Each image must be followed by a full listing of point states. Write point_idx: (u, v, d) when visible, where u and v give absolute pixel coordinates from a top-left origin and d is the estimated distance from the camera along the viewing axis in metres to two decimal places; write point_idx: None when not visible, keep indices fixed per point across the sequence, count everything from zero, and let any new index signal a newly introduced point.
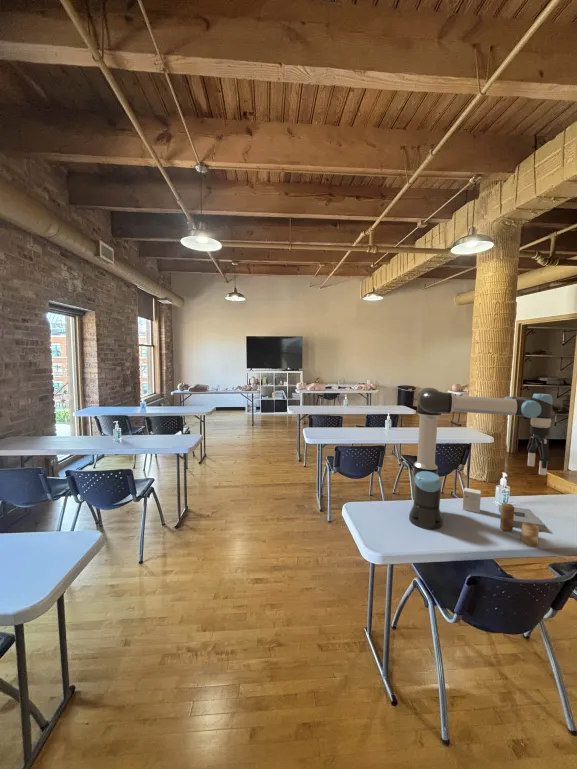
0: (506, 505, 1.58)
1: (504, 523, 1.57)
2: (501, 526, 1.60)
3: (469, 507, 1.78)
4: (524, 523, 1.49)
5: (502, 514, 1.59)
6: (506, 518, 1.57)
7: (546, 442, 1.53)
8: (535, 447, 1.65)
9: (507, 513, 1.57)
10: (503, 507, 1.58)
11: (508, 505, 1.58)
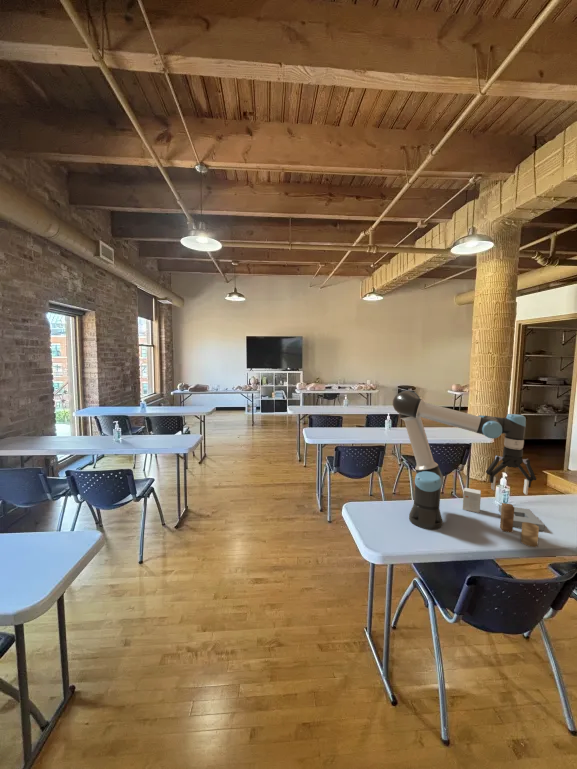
0: (506, 505, 1.58)
1: (504, 523, 1.57)
2: (501, 526, 1.60)
3: (469, 507, 1.78)
4: (524, 523, 1.49)
5: (502, 514, 1.59)
6: (506, 518, 1.57)
7: (495, 459, 1.59)
8: (522, 472, 1.56)
9: (507, 513, 1.57)
10: (503, 507, 1.58)
11: (508, 505, 1.58)
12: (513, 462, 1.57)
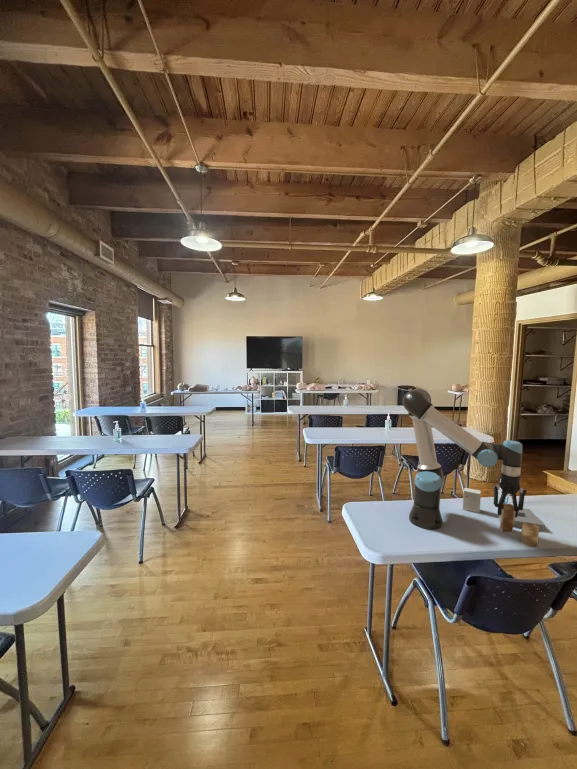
0: (506, 505, 1.58)
1: (504, 523, 1.57)
2: (501, 526, 1.60)
3: (469, 507, 1.78)
4: (524, 523, 1.49)
5: None
6: (506, 518, 1.57)
7: (494, 489, 1.59)
8: (513, 500, 1.57)
9: (507, 513, 1.57)
10: (503, 507, 1.58)
11: (508, 505, 1.58)
12: (510, 488, 1.57)
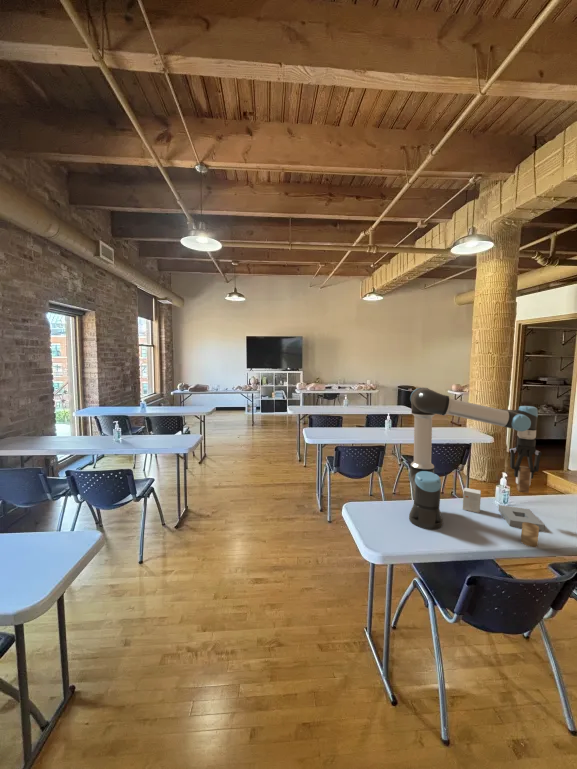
0: (522, 467, 1.66)
1: (521, 484, 1.66)
2: (518, 487, 1.68)
3: (469, 507, 1.78)
4: (524, 523, 1.49)
5: None
6: (523, 479, 1.65)
7: (511, 452, 1.68)
8: (529, 462, 1.66)
9: (523, 475, 1.65)
10: (519, 469, 1.67)
11: (524, 467, 1.67)
12: (526, 450, 1.65)
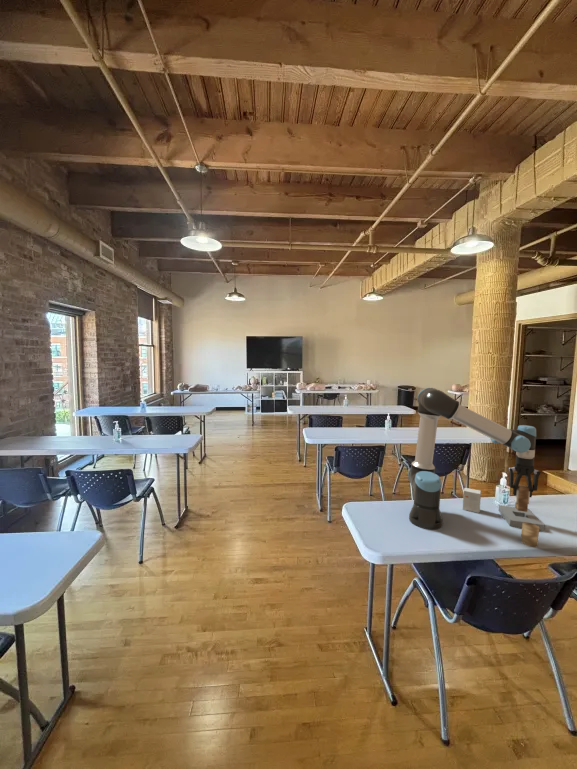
0: (521, 486, 1.68)
1: (520, 503, 1.67)
2: (516, 506, 1.70)
3: (469, 507, 1.78)
4: (524, 523, 1.49)
5: None
6: (521, 498, 1.67)
7: (510, 471, 1.69)
8: (527, 481, 1.67)
9: (522, 494, 1.67)
10: (518, 488, 1.68)
11: (523, 486, 1.68)
12: (525, 469, 1.67)
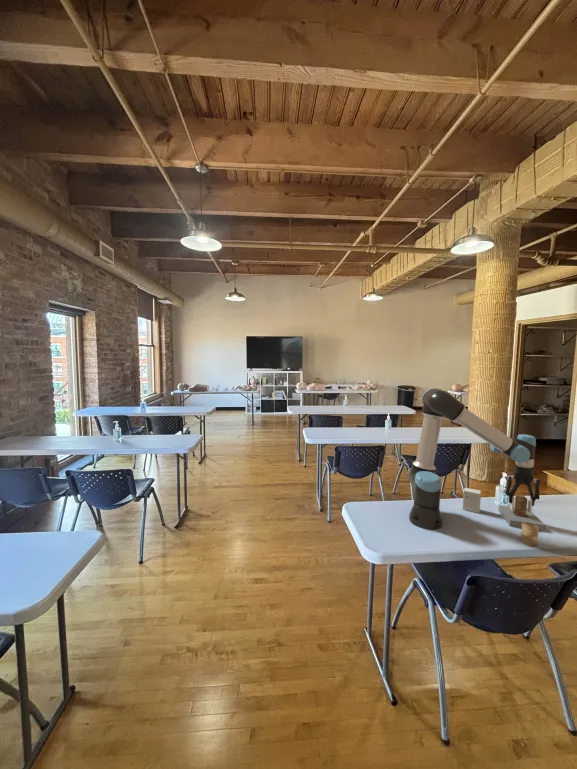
0: (519, 497, 1.69)
1: (518, 514, 1.68)
2: None
3: (469, 507, 1.78)
4: (524, 523, 1.49)
5: (516, 505, 1.70)
6: (520, 509, 1.67)
7: (508, 479, 1.70)
8: (529, 490, 1.67)
9: (521, 505, 1.67)
10: (517, 499, 1.69)
11: (521, 497, 1.69)
12: (524, 479, 1.67)
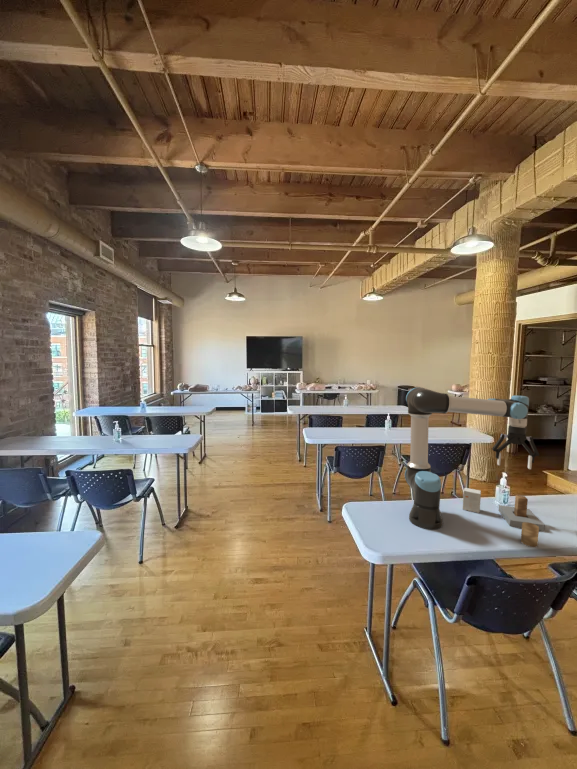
0: (520, 497, 1.68)
1: (518, 514, 1.68)
2: None
3: (469, 507, 1.78)
4: (524, 523, 1.49)
5: (516, 505, 1.70)
6: (520, 509, 1.67)
7: (501, 436, 1.74)
8: (526, 449, 1.70)
9: (521, 505, 1.67)
10: (517, 499, 1.69)
11: (522, 497, 1.69)
12: (517, 439, 1.71)
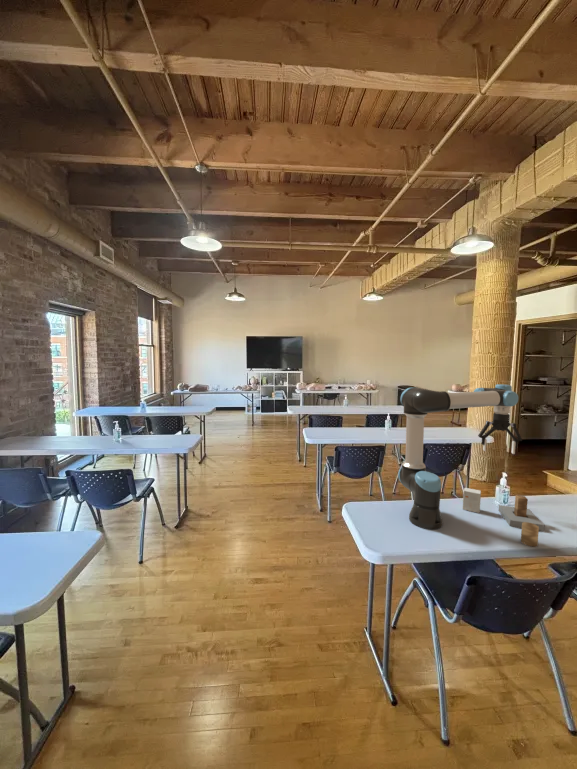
0: (520, 497, 1.68)
1: (518, 514, 1.68)
2: None
3: (469, 507, 1.78)
4: (524, 523, 1.49)
5: (516, 505, 1.70)
6: (520, 509, 1.67)
7: (486, 423, 1.83)
8: (510, 434, 1.80)
9: (521, 505, 1.67)
10: (517, 499, 1.69)
11: (521, 497, 1.69)
12: (501, 426, 1.80)
